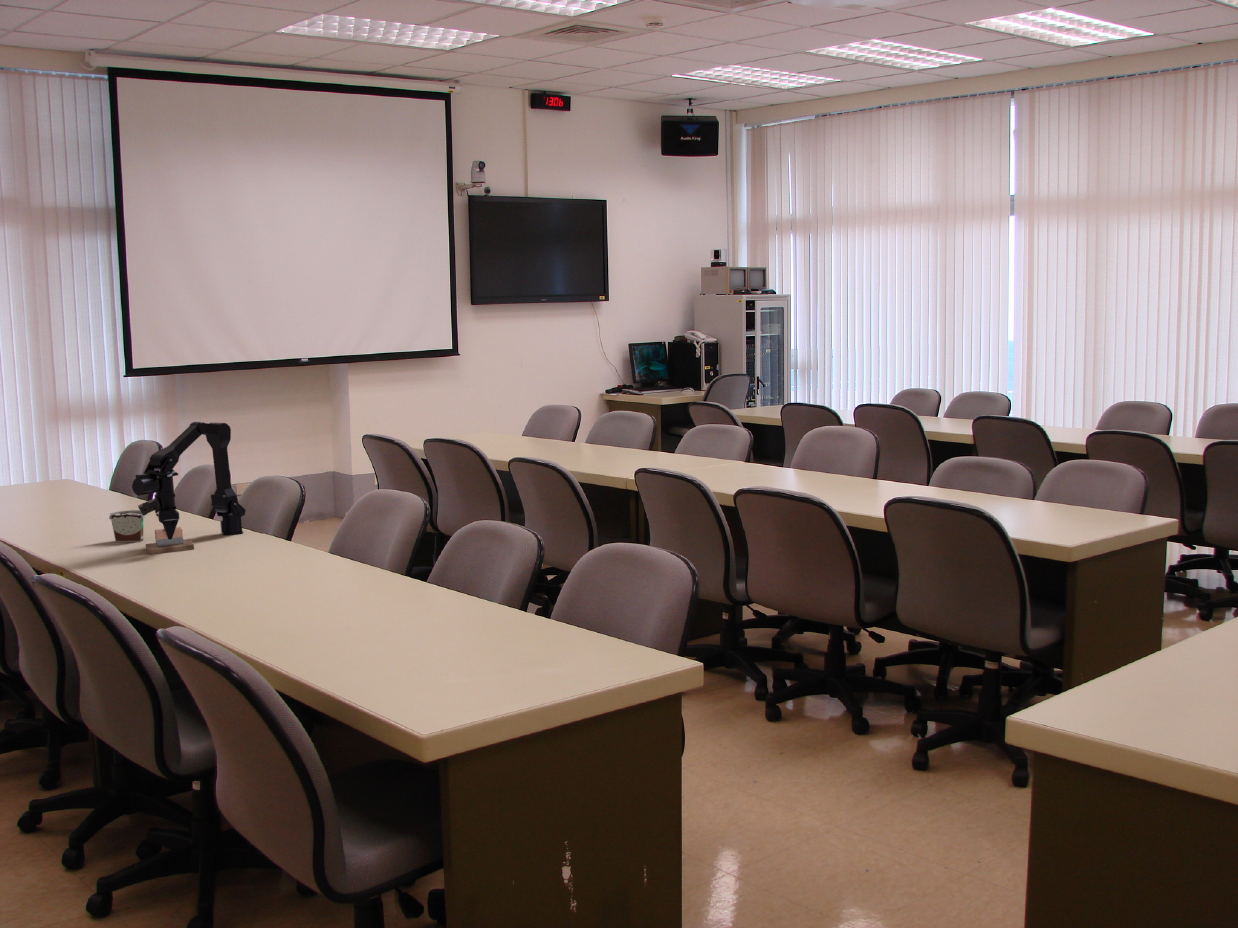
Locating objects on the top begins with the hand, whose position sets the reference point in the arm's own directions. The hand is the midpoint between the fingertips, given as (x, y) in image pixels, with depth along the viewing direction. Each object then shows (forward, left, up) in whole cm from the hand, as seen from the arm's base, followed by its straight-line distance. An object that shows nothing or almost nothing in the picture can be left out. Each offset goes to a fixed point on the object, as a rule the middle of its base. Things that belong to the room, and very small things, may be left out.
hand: (168, 536), depth 363 cm
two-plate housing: (0, 0, -2) cm, 2 cm away
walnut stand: (0, 0, -4) cm, 4 cm away
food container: (+10, -24, -4) cm, 27 cm away
